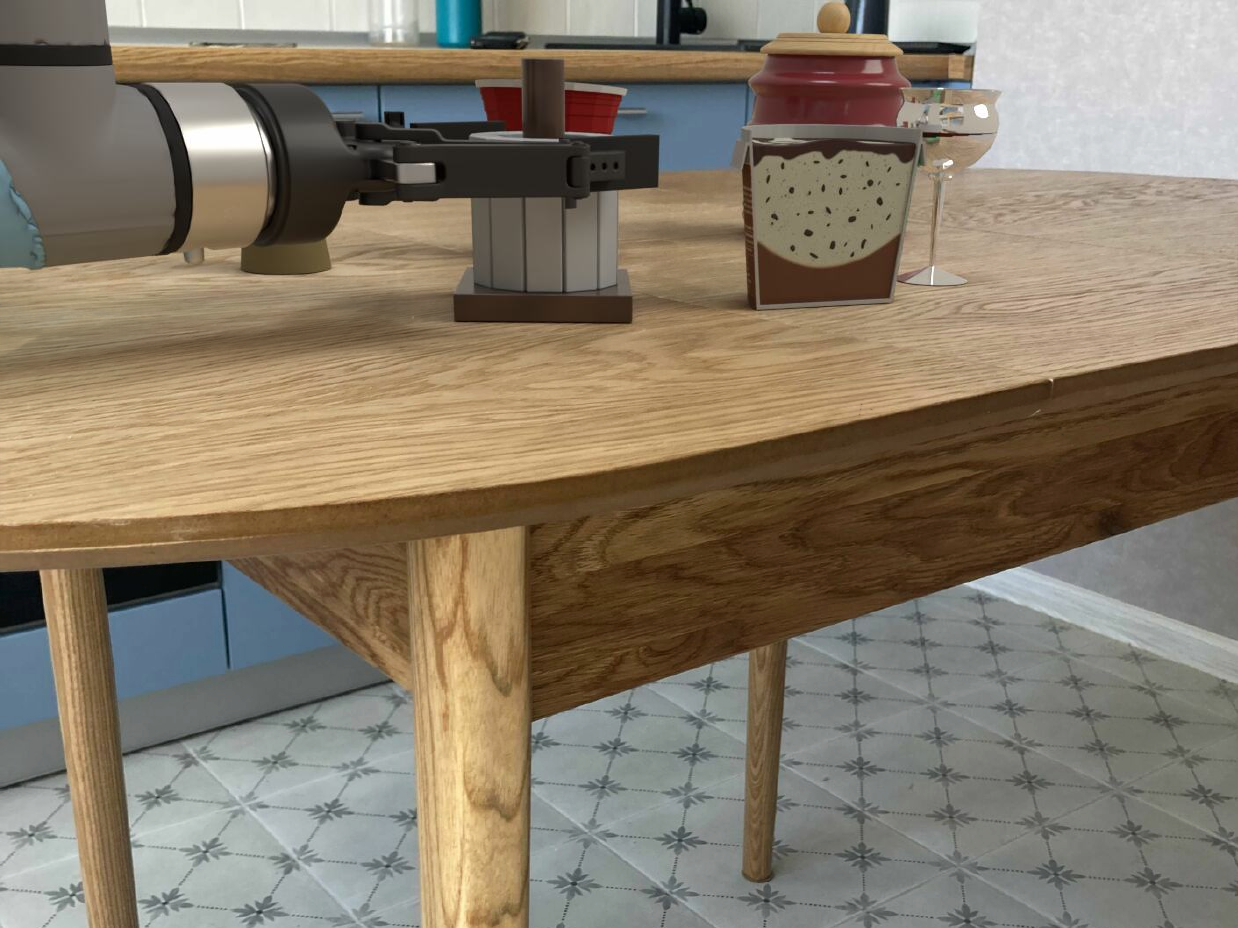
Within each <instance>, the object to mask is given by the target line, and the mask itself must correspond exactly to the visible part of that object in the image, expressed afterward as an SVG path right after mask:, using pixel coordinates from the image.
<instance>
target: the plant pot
mask: <svg viewBox="0 0 1238 928" xmlns="http://www.w3.org/2000/svg"><path fill="white" fill-rule="evenodd" d="M590 136H616V134H614V135H613V134H611V135H607V134H595V133H578V132H565V137H590ZM469 140H492V141H545V142H559V139H529V138H523V137H522V131H510V132H485V133H474V134H471V135H470V136H469ZM619 200H620V190H615V191H601V192H590V196H589V197H588V198H583V199H581V200H577V208H574V209H565V197H549V198H470V210H471V211H470V213H471V216H470V217H471V241H472V242H471V244H472V245H471V246H472V267H473V279H474V282H475V283H476V284H479V285H482V286H485V287H488V288H494V289H501V290H510V291H519V292H523V291H527V292H555V293H561V292H562V291H564V292H578V291H590V290H596V289H602V288H606V287H610V286H613V285H616V284H618V269H619V217H620V216H619V215H620V214H619V204H620V203H619V202H620V201H619Z"/></svg>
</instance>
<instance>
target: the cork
mask: <svg viewBox="0 0 1238 928" xmlns="http://www.w3.org/2000/svg"><path fill="white" fill-rule="evenodd" d="M240 252H241V253H240V269H241V270H242V271H243V272H248V273H255V274H263V275H298V274H299V275H300V274H301V275H302V274H312V273H320V272H324V271H328V270H330V269H332V261H331V256H330V252H329V247H328V241H327V237H326V238H325V239H323V240H321V241H319V242H315V243H307V244H295V245H284V246H272V247H258V246H255V245H253V244H250V245H249V246H247V247H243V248H240Z"/></svg>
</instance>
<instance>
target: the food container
mask: <svg viewBox="0 0 1238 928" xmlns="http://www.w3.org/2000/svg"><path fill="white" fill-rule="evenodd" d="M922 133H923V129H915V128H902V127H885V126H863V125H825V124H777V125H753V126H746V125H745V126H741V129H740V137H739V138H736V139H735V144H734V148H733V152H732V158H731V161H730V166H731V167H732V168H736V169H740V170H741V179H742V180H741V181H742V182H741V183H742V203H743V205H744V220H743V228H745V231H744V242H745V243H744V247H745V248H744V249H745V270H746V273H745V274H746V291H747V295H746V296H747V305H748V306H749V307H750V308H752V309H754V310H756V311H759V310H761V311H762V310H777V309H778V310H779V309H795V308H796V309H797V308H813V307H814V308H816V307H817V308H818V307H834V306H835V307H836V306H851V305H854V306H855V305H870V304H889V303H894V299H895V294H896V293H895V292H896V287H897V282H898V280H897V276H898V275H899V269H900V265H901V258H902V253H903V249H904V248H903V247H904V242H905V237H906V231H907V225H908V221H909V214H910V208H911V203H912V197H913V193H914V192H913V191H914V186H915V182H916V176H917V169H918V166H927V159H926V144H925V141H922ZM917 165H918V166H917ZM743 205H742V206H743Z"/></svg>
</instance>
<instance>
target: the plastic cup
mask: <svg viewBox="0 0 1238 928" xmlns="http://www.w3.org/2000/svg"><path fill="white" fill-rule="evenodd" d="M474 83H475V87H476V89H479V94H480V96H481V100H482V102H483V109H484V110H483V111H484V112H485V114H486V115H485V116H486V121H506V132H510V131H522V79H516V78H515V79H514V78H513V79H511V78H507V79H506V78H485V79H483V78H481V79H475V80H474ZM627 93H628V88H624V87H620V86H611V85H604V84H594V83H582V82H571V81H570V82H569V81H565V132H578V133H595V134H607V135H612V133H614V127H615V121H616V118H617V117H618V113H619V112H618V111H619V107H620V106H621V102H623V97H626V96H627Z"/></svg>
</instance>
